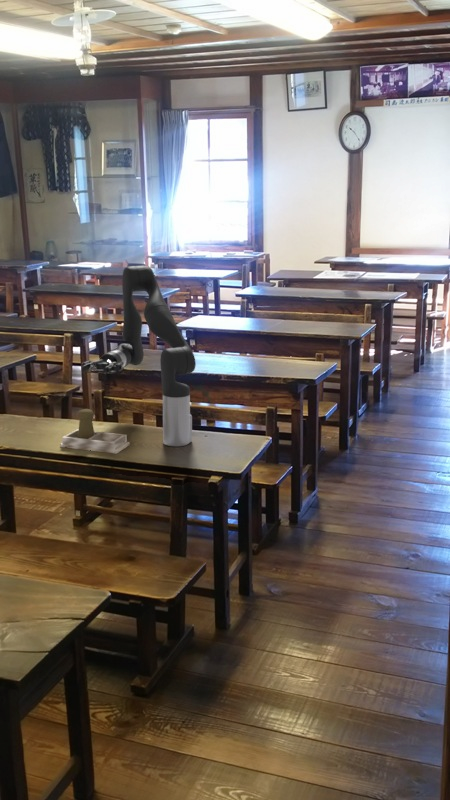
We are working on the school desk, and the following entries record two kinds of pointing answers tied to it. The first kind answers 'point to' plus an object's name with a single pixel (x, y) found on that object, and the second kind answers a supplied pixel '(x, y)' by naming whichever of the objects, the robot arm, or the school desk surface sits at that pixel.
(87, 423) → the cork
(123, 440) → the white divided tray
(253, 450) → the school desk surface
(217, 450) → the school desk surface
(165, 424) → the robot arm
